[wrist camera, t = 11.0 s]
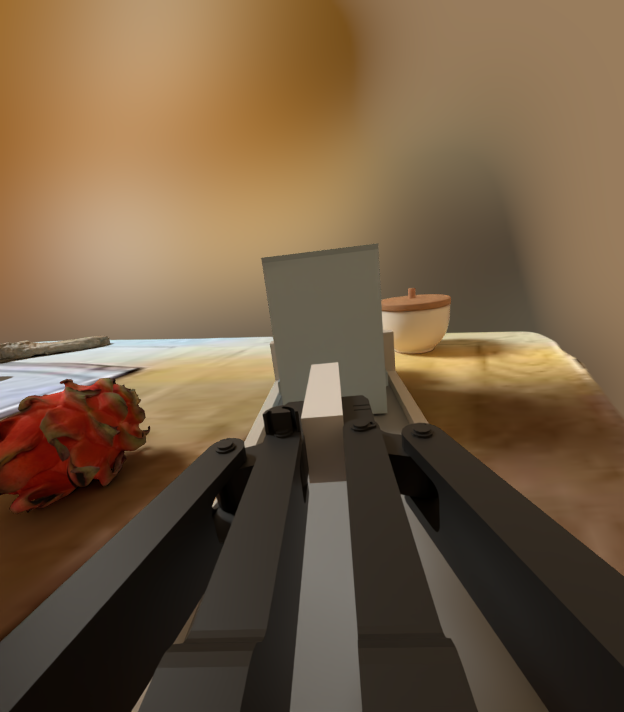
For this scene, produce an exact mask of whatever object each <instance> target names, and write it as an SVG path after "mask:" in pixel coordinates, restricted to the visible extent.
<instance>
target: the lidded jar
mask: <svg viewBox="0 0 624 712" xmlns="http://www.w3.org/2000/svg"><path fill="white" fill-rule="evenodd" d="M450 304H451V298H450V296H448V295H438V294H433V295H432V294H431V295H416V294H415V288H409V289H408V296H402V297H395V298H388V299H384V300H381V305H382V323H383V330H392V331H393V333H394V351H396V352H399V353H406V354H417V353H425V352H429V351H432V350H433V349H434V346H436V345H437V344H438V343H439V342H440V341H441V340H442V338H443V337H444V335H445V333H446V331H447V328H448V324H449V318H450V317H449V316H450Z"/></svg>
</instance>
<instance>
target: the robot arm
mask: <svg viewBox="0 0 624 712" xmlns="http://www.w3.org/2000/svg"><path fill="white" fill-rule="evenodd" d="M262 415H263V421H264V426H265V432H266V435H265V438H264V441H263V443H260V444H257V445H254V446H250V447H246V448H245V445H244V441H242V440H241V439H237V438H227V439H223V440H220V441H219V442H216V443H214V444H213V445H212V446H210V447H209V448H208V449H207V450H206V451H205V452H204V453H203V454H202V455H200V456H199V457H198V458H197V459H196V460H195V461H194V462H193V463H192V464H191V465H190V466H189V467H188V468H187V469H185V470H184V471H183V472H182V473H181V474H180V475H179V476H178V477H177V478H176V479H175V480H174V481H173V482H172V483H170V484H169V485H168V486H167V487H166V488H165V489H164V490H163V491H162V492H161V493H160V494H159V495H158V496H157V497H155V498H154V499H153V500H152V501H151V502H150V503H149V504H148V505H147V506H146V507H145V508H144V509H143V510H142V511H140V512H139V513H138V514H137V515H136V516H135V517H134V518H133V519H132V520H131V521H130V522H129V523H128V524H127V525H125V526H124V527H123V528H122V529H121V530H120V531H119V532H118V533H117V534H116V535H115V536H114V537H113V538H112V539H110V540H109V541H108V542H107V543H106V544H105V545H104V546H103V547H102V548H101V549H100V550H99V551H98V552H97V553H95V554H94V555H93V556H92V557H91V558H90V559H89V560H88V561H87V562H86V563H85V564H84V565H83V566H82V567H80V568H79V569H78V570H77V571H76V572H75V573H74V574H73V575H72V576H71V577H70V578H69V579H68V580H67V581H65V582H64V583H63V584H62V585H61V586H60V587H59V588H58V589H57V590H56V591H55V592H54V593H53V594H52V595H50V596H49V597H48V598H47V599H46V600H45V601H44V602H43V603H42V604H41V605H40V606H39V607H38V608H36V609H35V610H34V611H33V612H32V613H31V614H30V615H29V616H28V617H27V618H26V619H25V620H24V621H23V622H21V623H20V624H19V625H18V626H17V627H16V628H15V629H14V630H13V631H12V632H11V633H10V634H9V635H8V636H6V637H5V638H4V639H3V640H2V641H1V642H0V712H131V711H132V710H133V708H134V707H135V705H136V703H137V702H138V700H139V698H140V697H141V695H142V694H143V692H144V690H145V689H146V687H147V685H148V684H149V682H150V681H151V682H150V685H149V687H148V689H147V692H146V694H145V696H144V699H143V701H142V703H141V705H140V708H139V710H138V712H290V704H291V692H292V681H293V670H294V659H295V647H296V636H297V625H298V614H299V603H300V591H301V580H302V569H303V558H304V546H305V535H306V524H307V513H308V502H309V486H308V474H309V482H310V483H326V482H342V481H347V495H348V509H349V522H350V536H351V550H352V564H353V577H354V591H355V605H356V618H357V632H358V640H357V641H358V658H359V673H360V687H361V701H362V712H478V710H477V707H476V704H475V701H474V698H473V695H472V692H471V689H470V686H469V683H468V680H467V677H466V674H465V671H464V668H463V665H462V662H461V659H460V657H459V654H458V651H457V649H456V646H455V645H454V643H453V641H452V639H451V638H446V636H445V634H444V633H443V630H442V627H441V624H440V621H439V618H438V614H437V611H436V608H435V605H434V601H433V598H432V595H431V592H430V588H429V585H428V582H427V579H426V575H425V572H424V569H423V566H422V563H421V559H420V556H419V553H418V550H417V546H416V543H415V540H414V537H413V533H412V530H411V527H410V524H409V520H408V517H407V514H406V511H405V507H404V504H403V501H402V498H401V495H404V498H405V501H406V503H407V504H408V506H409V507H410V509H411V510H412V512H413V513H414V515H415V516H416V518H417V519H418V521H419V522H420V523H421V525H422V526H423V528H424V529H425V531H426V532H427V534H428V535H429V537H430V538H431V540H432V541H433V543H434V544H435V545H436V547H437V548H438V550H439V551H440V553H441V554H442V556H443V557H444V559H445V560H446V562H447V563H448V564H449V566H450V567H451V569H452V570H453V572H454V573H455V575H456V576H457V578H458V579H459V581H460V582H461V584H462V585H463V586H464V588H465V589H466V591H467V592H468V594H469V595H470V597H471V598H472V600H473V601H474V603H475V604H476V605H477V607H478V608H479V610H480V611H481V613H482V614H483V616H484V617H485V619H486V620H487V622H488V623H489V625H490V626H491V627H492V629H493V630H494V632H495V633H496V635H497V636H498V638H499V639H500V641H501V642H502V644H503V645H504V646H505V648H506V649H507V651H508V652H509V654H510V655H511V657H512V658H513V660H514V661H515V663H516V664H517V666H518V667H519V668H520V670H521V671H522V673H523V674H524V676H525V677H526V679H527V680H528V682H529V683H530V685H531V686H532V688H533V689H534V690H535V692H536V693H537V695H538V696H539V698H540V699H541V701H542V702H543V704H544V705H545V707H546V708H547V709H548V711H549V712H624V576H623V575H621V574H620V573H619V572H618V571H616V570H615V569H614V568H613V567H612V566H610V565H609V564H608V563H607V562H605V561H604V560H603V559H602V558H600V557H599V556H598V555H597V554H595V553H594V552H593V551H592V550H590V549H589V548H588V547H587V546H585V545H584V544H583V543H582V542H580V541H579V540H578V539H577V538H575V537H574V536H573V535H572V534H570V533H569V532H568V531H567V530H565V529H564V528H563V527H562V526H561V525H559V524H558V523H557V522H556V521H554V520H553V519H552V518H551V517H549V516H548V515H547V514H546V513H544V512H543V511H542V510H541V509H539V508H538V507H537V506H536V505H534V504H533V503H532V502H531V501H529V500H528V499H527V498H526V497H524V496H523V495H522V494H521V493H519V492H518V491H517V490H516V489H514V488H513V487H512V486H511V485H509V484H508V483H507V482H506V481H505V480H503V479H502V478H501V477H500V476H498V475H497V474H496V473H495V472H493V471H492V470H491V469H490V468H488V467H487V466H486V465H485V464H483V463H482V462H481V461H480V460H478V459H477V458H476V457H475V456H473V455H472V454H471V453H470V452H468V451H467V450H466V449H465V448H463V447H462V446H461V445H460V444H458V443H457V442H456V441H455V440H454V439H452V438H451V437H450V436H449V435H447V434H446V433H445V432H444V431H442V430H441V429H440V428H438V427H436V426H434V425H431V424H428V423H413V424H410V425H407V426H405V427H404V428H403V429H402V432H401V434H402V435H400V434H392V433H387V432H384V431H382V430H380V426H379V425H378V423H377V422H375V420H374V416H373V413H372V410H371V406H370V403H369V400H368V398H366V397H365V396H363V395H357V396H345V397H341V386H340V376H339V366H338V362H335V363H325V364H314V365H311V369H310V375H309V380H308V385H307V390H306V395H305V400H304V401H296V402H288V403H287V404H285V405H281V406H276V407H273V408H270V409H268V410H266V411H265V412H264V413H263V414H262ZM215 497H216V498H217V503H216V504H215V505H214V506H213V507H212V505H213V501H214V499H215ZM204 593H205V594H204ZM203 595H204V597H203V600H202V602H201V605H200V607H199V610H198V613H197V615H196V618H195V620H194V623H193V626H192V628H191V631H190V633H189V635H188V637H187V639H186V640H185V641H184V642H183V643H180V644H173V643H174V642H175V640H176V638H177V637H178V635H179V634H180V632H181V630H182V629H183V627H184V626H185V624H186V622H187V621H188V619H189V617H190V616H191V614H192V613H193V611H194V609H195V608H196V606H197V604H198V603H199V601H200V600H201V598H202V596H203ZM152 677H153V678H152ZM151 679H152V680H151Z"/></svg>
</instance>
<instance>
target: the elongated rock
mask: <svg viewBox="0 0 624 712" xmlns="http://www.w3.org/2000/svg"><path fill="white" fill-rule="evenodd" d="M108 344H110V340H109V338H108V337H107V336H95V337H94V336H93V337H86V338H81V339H72V340H65V341H59V342H52V343H33V342H30V341H20V342H16V343H9V342H7V343H4V344H0V362H5V361H11V360H15V359H23V358H29V357H31V356H33V355H37V354H41V355H42V354H47V355H49V354H54V353H57V352H66V351H67V352H70V351H77V350H84V349H87V348H93V347H100V346H104V345H108Z"/></svg>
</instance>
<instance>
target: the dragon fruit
mask: <svg viewBox="0 0 624 712" xmlns="http://www.w3.org/2000/svg"><path fill="white" fill-rule="evenodd" d="M115 381H116V380H115V379H110V378H101V379H99V380H98V381H97V382H96V383H95V384H93V385H92V386H82V385H78V384H75V383H73V380H72V379H66V380H63V381H61V382H60V384H63V383H64V384H65V390H64V391H63V392H59V393H55V394H51V395H43V396H36V395H34V396H28V397H26V398H25V399H23V400H22V401H21V402H20V404H19V408H18V410H19V411H20V412H18V413H15V414H13V415H11V416H9V417H8V418H6V419H4V420H2V421H0V495H2V494H13V495H16V494H19V496H18V497H17V498H16V499H15V500H14V502H13V503H12V505H11V506H10V508H9V510H10V511H11V512H13V513H15V514H18V513H21V512H23V511H25V510H26V512H27V513H28V512H29V511H30V510H33V509H37V508H36V507H38V508H44V507H47V506H48V505H50V504H51V503H53V502H56V500H59V499H61V498H63V497H65V496H67V495H68V494H70V493H71V492H72V491H73V490H75V489H76V488H77V486H80V487H85V486H87V485H88V484H89V483H90V482H91V480H92V479H99V481H100V483H101V485H102V486H106V485H108V484H109V483H110V482H111V480H112V479H113V478H114V477H115V476H116V475H117V474H118V472H119V470H120V469H121V468H122V464H123V463H124V461H125V460H126V456H125V455H124V451H134V450H136V449H138V448H139V447H141V446H142V445H144V444H145V443H146V435H147V434H148V433H149V431H150V426H149V427H148V430H143V431H142V430H141V429H140V428H139V423H142V422H143V420H144V419H145V413H144V412H145V411H144V410H143V409H142V408H140V407H139V405H138V404H139V403H140V401H141V399H139V398H138V395H137V394H136V392H135V389H132V390H131V389H128V388H126V387H125V386H124V385H122V386H121V385H118V384H116V382H115ZM110 468H113V471H111V469H110ZM34 499H35V500H34ZM32 500H34V501H32ZM26 512H25V513H26Z"/></svg>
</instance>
